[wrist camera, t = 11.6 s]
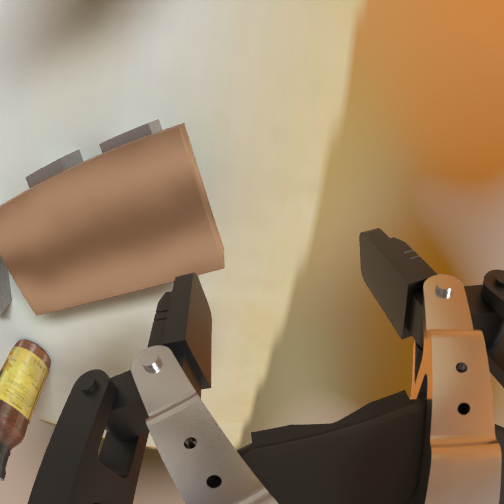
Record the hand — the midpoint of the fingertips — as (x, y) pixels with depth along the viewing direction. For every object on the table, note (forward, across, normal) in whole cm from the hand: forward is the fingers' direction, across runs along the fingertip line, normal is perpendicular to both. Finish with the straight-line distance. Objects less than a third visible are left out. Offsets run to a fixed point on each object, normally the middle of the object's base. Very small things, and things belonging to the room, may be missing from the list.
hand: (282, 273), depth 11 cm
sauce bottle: (+16, +34, +15) cm, 41 cm away
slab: (+12, +12, 0) cm, 17 cm away
